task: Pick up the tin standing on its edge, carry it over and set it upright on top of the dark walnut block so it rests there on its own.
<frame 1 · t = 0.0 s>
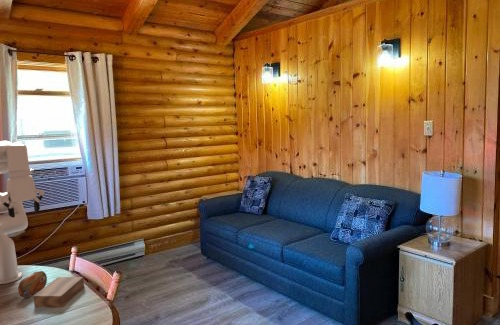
hand: (25, 214, 169), 37 cm above the table, tool pointing down, fingers open, 9 cm apart
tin: (34, 293, 180), on the table
walnut block: (60, 297, 174), on the table
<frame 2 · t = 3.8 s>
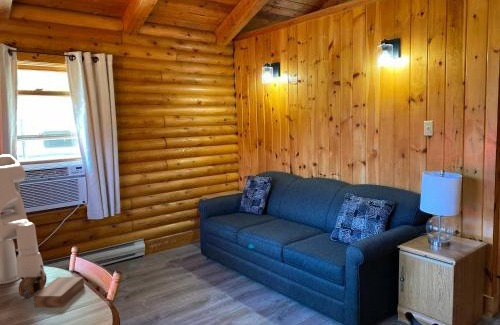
hand: (33, 290, 179), 1 cm above the table, tool pointing down, fingers closed on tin, 2 cm apart
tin: (33, 293, 180), on the table, touching gripper
when the fingers open (7 cm above the table, at t = 9.0 s): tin stays where it is, resting on walnut block.
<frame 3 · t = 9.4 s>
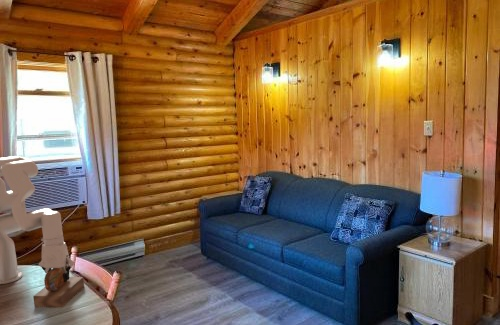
hand: (58, 280, 173), 8 cm above the table, tool pointing down, fingers open, 6 cm apart
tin: (58, 286, 174), point 5 cm above the table, touching walnut block
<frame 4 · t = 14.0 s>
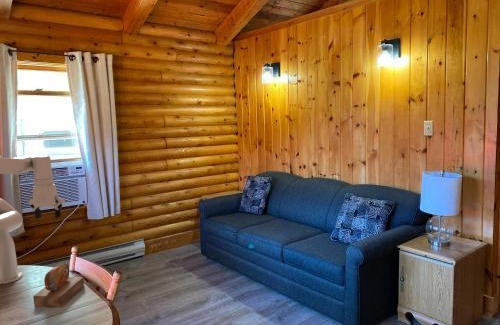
hand: (48, 217, 189), 30 cm above the table, tool pointing down, fingers open, 9 cm apart
nothing on the table moved.
at the end: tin inside the target area on the walnut block (0.6 cm from its centre), point 4.8 cm above the walnut block's base; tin touching walnut block; the gripper is holding nothing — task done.
